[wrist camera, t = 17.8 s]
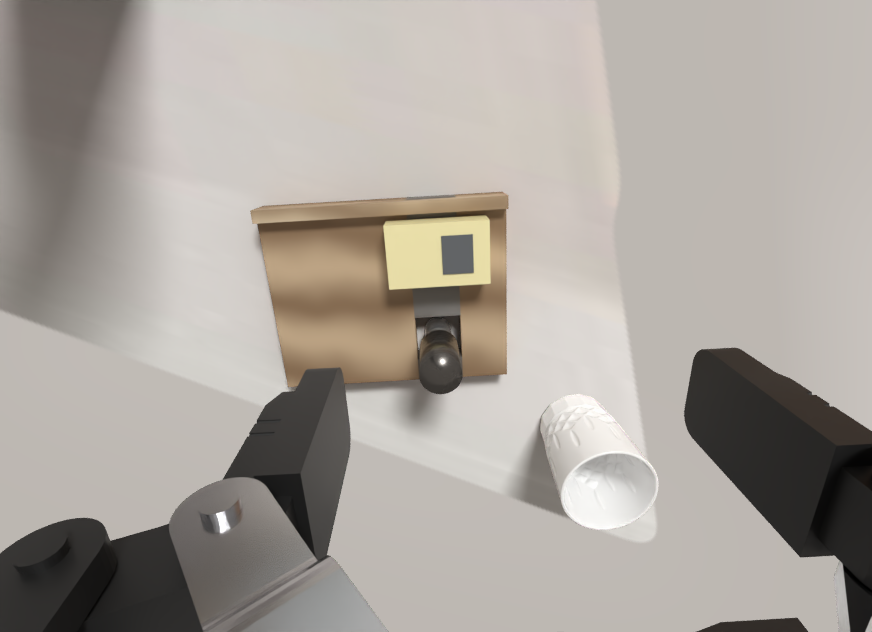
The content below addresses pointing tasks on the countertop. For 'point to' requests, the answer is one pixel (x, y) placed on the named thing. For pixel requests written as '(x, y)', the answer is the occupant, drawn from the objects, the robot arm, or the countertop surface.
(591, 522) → the white cup
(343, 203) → the board
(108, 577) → the robot arm
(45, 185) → the countertop surface
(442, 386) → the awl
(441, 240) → the stud finder
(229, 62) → the countertop surface
